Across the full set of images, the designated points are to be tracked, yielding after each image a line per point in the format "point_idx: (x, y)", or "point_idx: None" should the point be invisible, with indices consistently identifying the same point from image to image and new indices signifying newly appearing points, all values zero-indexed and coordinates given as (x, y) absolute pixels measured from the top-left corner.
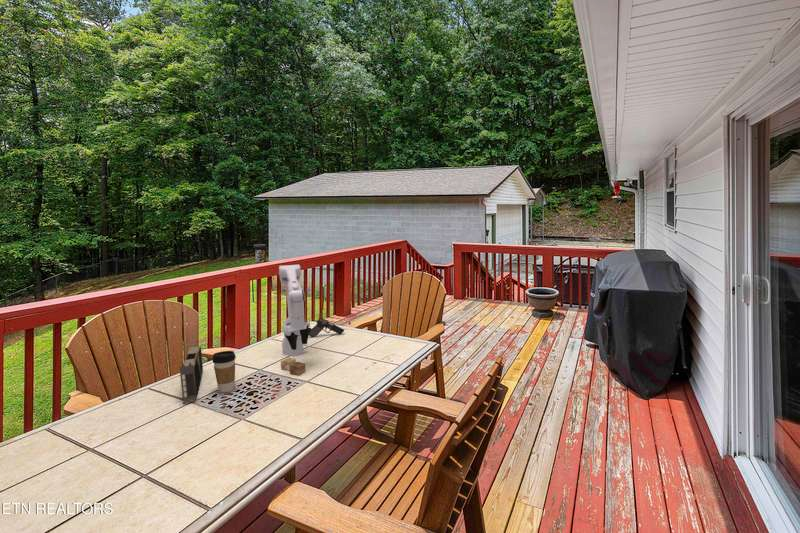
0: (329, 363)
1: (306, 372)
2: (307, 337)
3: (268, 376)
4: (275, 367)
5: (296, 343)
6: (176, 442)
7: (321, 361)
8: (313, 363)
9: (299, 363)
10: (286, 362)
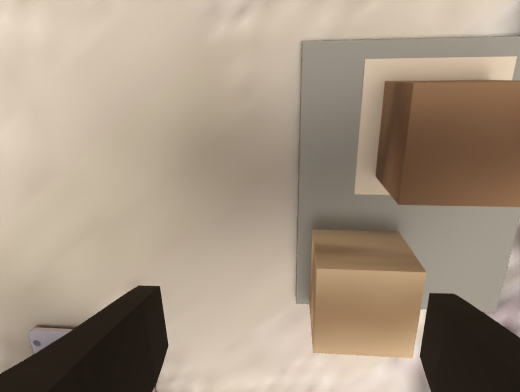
0: (92, 22)
1: (392, 63)
2: (62, 356)
3: (507, 315)
4: (342, 364)
5: (504, 363)
6: None
7: (95, 126)
8: (162, 163)
9: (442, 138)
10: (419, 293)
